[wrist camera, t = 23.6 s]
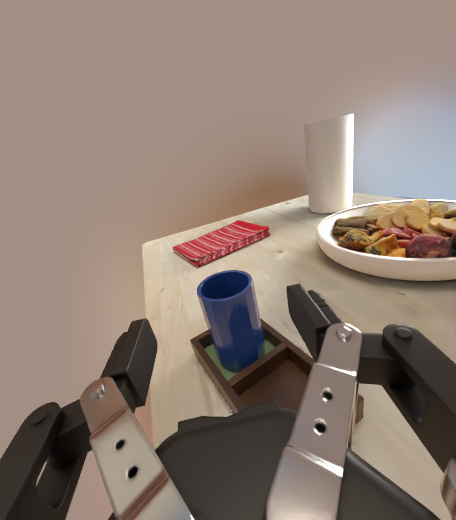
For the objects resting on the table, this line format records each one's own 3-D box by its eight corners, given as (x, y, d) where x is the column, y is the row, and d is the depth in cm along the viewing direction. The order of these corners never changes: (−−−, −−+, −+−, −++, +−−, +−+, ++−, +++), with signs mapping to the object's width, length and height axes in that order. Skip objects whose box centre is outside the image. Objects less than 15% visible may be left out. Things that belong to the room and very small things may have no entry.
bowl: (293, 242, 58) (290, 210, 54) (405, 212, 60) (408, 180, 57) (391, 315, 31) (397, 261, 27) (589, 256, 33) (616, 199, 29)
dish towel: (273, 235, 65) (272, 225, 64) (197, 269, 55) (194, 259, 54) (238, 226, 79) (237, 218, 78) (173, 252, 69) (170, 243, 68)
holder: (287, 495, 17) (283, 477, 16) (195, 354, 32) (189, 339, 31) (363, 416, 21) (364, 397, 20) (249, 321, 35) (246, 307, 34)
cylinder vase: (352, 200, 78) (353, 114, 67) (351, 212, 68) (352, 113, 57) (312, 204, 83) (308, 125, 73) (306, 215, 74) (300, 126, 63)
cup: (233, 382, 26) (212, 309, 22) (209, 350, 31) (188, 285, 26) (275, 353, 28) (263, 282, 24) (247, 327, 33) (233, 265, 29)
